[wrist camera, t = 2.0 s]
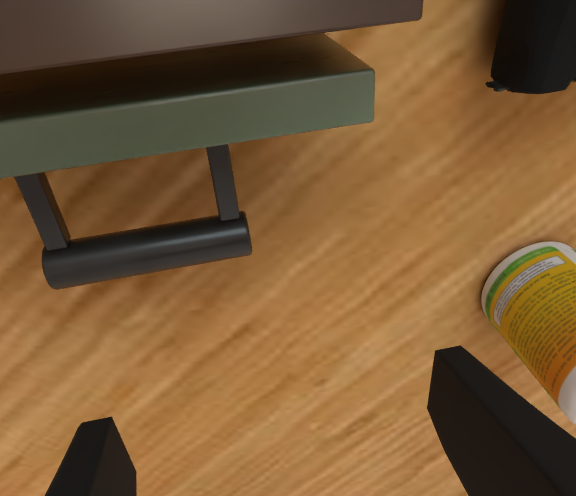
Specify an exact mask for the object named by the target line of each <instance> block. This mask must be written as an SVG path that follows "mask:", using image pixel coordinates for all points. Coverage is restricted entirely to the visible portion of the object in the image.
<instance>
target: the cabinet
mask: <svg viewBox="0 0 576 496" xmlns="http://www.w3.org/2000/svg"><path fill="white" fill-rule="evenodd" d="M422 8H423V0H0V75H2V74H10V73H18V72H26V71H33V70H41V69H49V68H56V67H64V66H72V65H79V64H87V63H95V62H102V61H110V60H118V59H125V58H133V57H141V56H148V55H156V54H164V53H171V52H179V51H187V50H195V49H202V48H210V47H218V46H225V45H233V44H241V43H248V42H256V41H264V40H271V39H279V38H287V37H294V36H302V35H310V34H317V33H325V32H333V31H340V30H348V29H356V28H364V27H371V26H379V25H387V24H394V23H402V22H410V21H417V20H419V19H421V17H422Z"/></svg>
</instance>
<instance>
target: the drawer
mask: <svg viewBox="0 0 576 496" xmlns="http://www.w3.org/2000/svg"><path fill="white" fill-rule="evenodd" d="M374 94H375V71H374V69H373V68H371V67H370V66H369V65H367V64H366V63H364V62H363V61H362V60H360V59H359V58H358V57H356V56H355V55H353V54H352V53H351V52H349V51H348V50H347V49H345V48H344V47H342V46H341V45H340V44H338V43H337V42H336V41H334V40H333V39H331V38H330V37H329V36H327V35H326V34H324V33H317V34H310V35H302V36H294V37H287V38H279V39H271V40H264V41H256V42H248V43H241V44H233V45H225V46H218V47H210V48H202V49H195V50H187V51H179V52H171V53H164V54H156V55H148V56H141V57H133V58H125V59H118V60H110V61H102V62H95V63H87V64H79V65H72V66H64V67H56V68H49V69H41V70H33V71H26V72H18V73H10V74H2V75H0V179H2V178H9V177H14V178H15V180H16V182H17V184H18V187H19V189H20V191H21V193H22V195H23V198H24V200H25V202H26V204H27V207H28V209H29V211H30V213H31V216H32V218H33V220H34V222H35V225H36V227H37V229H38V231H39V234H40V236H41V238H42V240H43V243H44V245H45V246H44V248H43V251H42V267H43V272H44V275H45V278H46V280H47V282H48V284H49V285H50V287H51V288H53V289H57V290H58V289H64V288H69V287H75V286H80V285H86V284H92V283H97V282H103V281H108V280H114V279H120V278H125V277H131V276H136V275H142V274H148V273H153V272H159V271H164V270H170V269H175V268H181V267H187V266H192V265H198V264H203V263H209V262H215V261H220V260H226V259H231V258H237V257H242V256H248V255H251V254H252V245H251V238H250V233H249V227H248V222H247V217H246V214H245V212H244V211H239V208H238V202H237V196H236V190H235V184H234V178H233V171H232V165H231V159H230V153H229V147H228V144H232V143H238V142H245V141H251V140H258V139H264V138H271V137H277V136H284V135H290V134H297V133H304V132H310V131H317V130H323V129H330V128H336V127H343V126H349V125H356V124H362V123H369V122H372V121H373V120H374ZM205 147H206V150H207V155H208V160H209V165H210V171H211V176H212V181H213V186H214V192H215V197H216V202H217V207H218V212H219V215H215V216H209V217H203V218H197V219H191V220H185V221H179V222H174V223H168V224H162V225H156V226H150V227H144V228H138V229H132V230H126V231H120V232H114V233H108V234H102V235H96V236H90V237H85V238H79V239H73V240H70V238H71V237H70V234H69V232H68V229H67V227H66V224H65V222H64V219H63V217H62V214H61V212H60V209H59V207H58V205H57V202H56V200H55V197H54V195H53V192H52V190H51V187H50V185H49V182H48V180H47V177H46V175H45V172H48V171H55V170H61V169H68V168H74V167H81V166H88V165H94V164H101V163H107V162H114V161H120V160H127V159H133V158H140V157H146V156H153V155H160V154H166V153H173V152H179V151H186V150H192V149H199V148H205Z"/></svg>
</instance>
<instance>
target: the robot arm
mask: <svg viewBox="0 0 576 496" xmlns="http://www.w3.org/2000/svg"><path fill="white" fill-rule="evenodd" d="M427 409H428V412H429V414H430V417H431V419H432V422H433V424H434V427H435V429H436V432H437V434H438V437H439V439H440V441H441V444H442V446H443V448H444V451H445V453H446V455H447V457H448V458H449V460H450V462H451V464H452V466H453V468H454V470H455V471H456V473H457V475H458V477H459V479H460V481H461V482H462V484H463V486H464V488H465V490H466V492H467V493H468V495H469V496H576V438H574V437H573V436H572V435H570V434H569V433H568V432H566V431H565V430H564V429H562V428H561V427H560V426H558V425H557V424H556V423H554V422H553V421H552V420H551V419H549V418H548V417H547V416H545V415H544V414H543V413H542V412H540V411H539V410H538V409H537V408H535V407H534V406H533V405H531V404H530V403H529V402H528V401H526V400H525V399H524V398H523V397H521V396H520V395H519V394H518V393H517V392H515V391H514V390H513V389H512V388H511V387H509V386H508V385H507V384H506V383H505V382H503V381H502V380H501V379H500V378H499V377H497V376H496V375H495V374H494V373H493V372H491V371H490V370H489V369H488V368H487V367H486V366H484V365H483V364H482V363H481V362H480V361H478V360H477V359H476V358H475V357H474V356H473V355H471V354H470V353H469V352H468V351H467V350H465V349H464V348H463V347H462V346H455V347H450V348H446V349H441V350H436V351H435V355H434V362H433V369H432V377H431V384H430V391H429V398H428V405H427ZM45 496H136V470H135V468H134V466H133V463H132V461H131V459H130V457H129V454H128V452H127V450H126V448H125V445H124V443H123V441H122V439H121V436H120V434H119V432H118V430H117V427H116V425H115V423H114V421H113V418H112V417H108V418H103V419H98V420H93V421H88V422H83V423H81V425H80V426H79V427H78V429H77V431H76V433H75V435H74V437H73V439H72V442H71V444H70V446H69V448H68V450H67V452H66V454H65V456H64V458H63V460H62V462H61V464H60V466H59V469H58V471H57V473H56V475H55V477H54V478H53V480H52V482H51V484H50V486H49V488H48V490H47V492H46V494H45Z"/></svg>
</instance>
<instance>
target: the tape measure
mask: <svg viewBox="0 0 576 496" xmlns="http://www.w3.org/2000/svg"><path fill="white" fill-rule="evenodd" d="M491 77H492V79H493V80H494V81H492V82H486V83H485V84H486V86H487V87H491V88H494V91H497V92H501V91H503V90H507V91H511V92H517V93H526V94H544V93H551V92H557V91H562V90H565V89H566V88H567V87H568V86H569V84H570V82H576V0H506V3H505V7H504V11H503V15H502V19H501V23H500V28H499V32H498V37H497V42H496V47H495V52H494V57H493V61H492V67H491Z"/></svg>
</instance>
